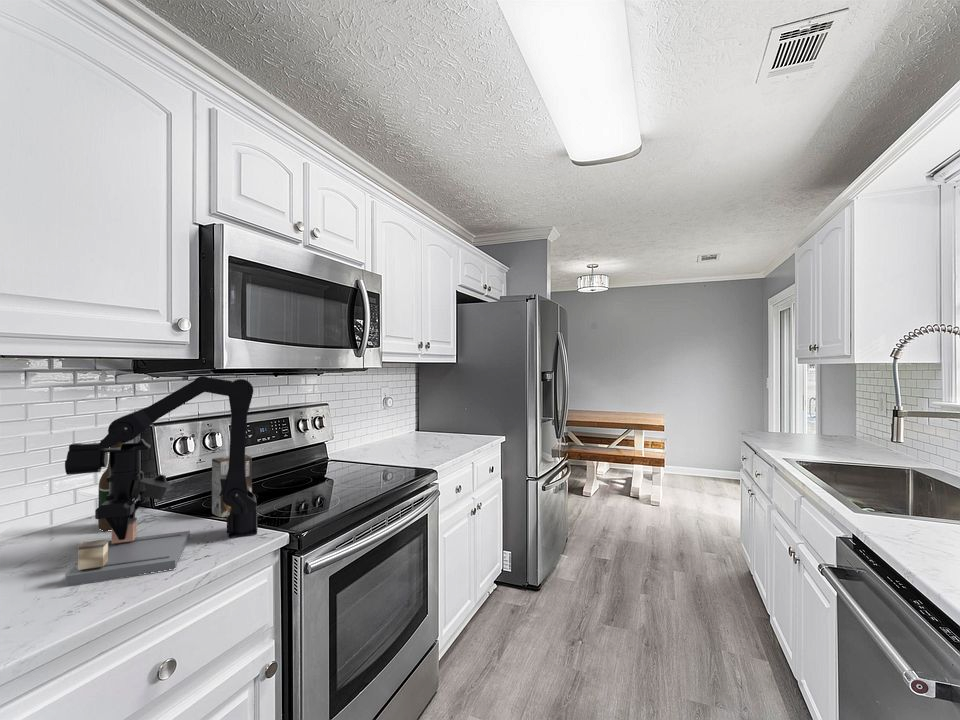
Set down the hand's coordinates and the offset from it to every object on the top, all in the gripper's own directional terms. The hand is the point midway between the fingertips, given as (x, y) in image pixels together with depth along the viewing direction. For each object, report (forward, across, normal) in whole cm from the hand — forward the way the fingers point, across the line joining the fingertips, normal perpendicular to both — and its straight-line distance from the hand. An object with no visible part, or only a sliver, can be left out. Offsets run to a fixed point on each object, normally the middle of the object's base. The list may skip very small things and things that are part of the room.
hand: (124, 537), depth 108 cm
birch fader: (+1, -14, +2) cm, 14 cm away
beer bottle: (+3, +20, +6) cm, 21 cm away
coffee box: (+3, +22, -21) cm, 30 cm away
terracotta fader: (+1, 0, 0) cm, 1 cm away
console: (+3, -7, -4) cm, 9 cm away
